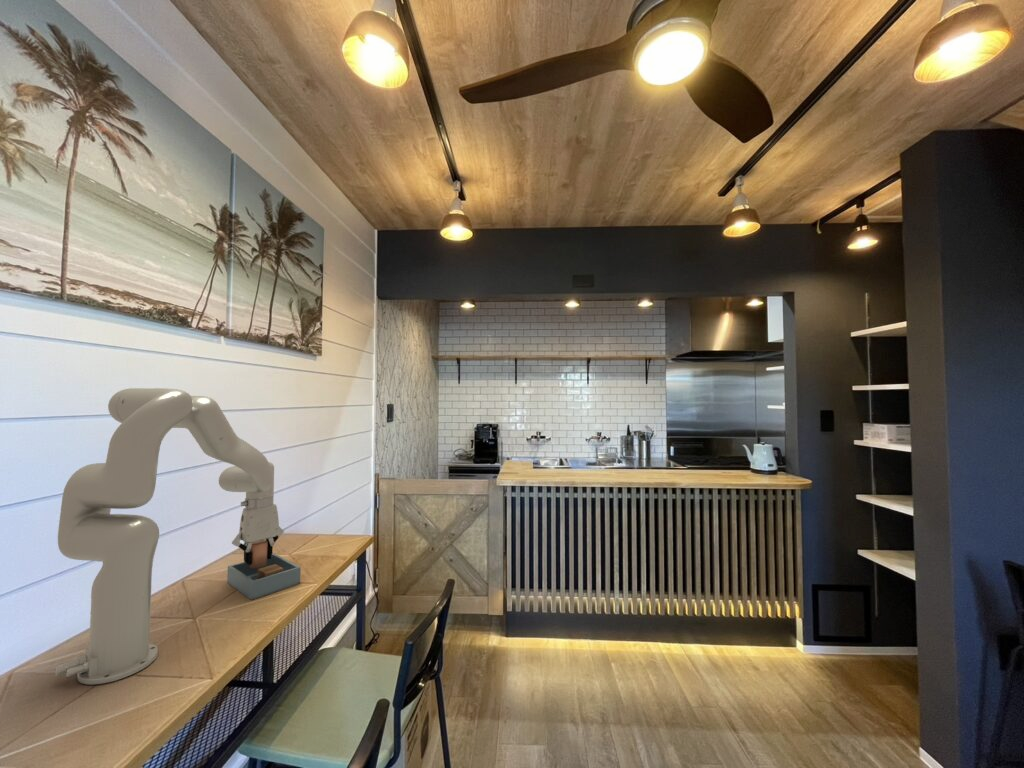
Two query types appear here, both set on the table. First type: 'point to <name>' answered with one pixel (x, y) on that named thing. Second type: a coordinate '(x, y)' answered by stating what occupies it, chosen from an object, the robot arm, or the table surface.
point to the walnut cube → (269, 571)
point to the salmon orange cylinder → (259, 554)
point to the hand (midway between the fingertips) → (258, 560)
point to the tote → (256, 588)
